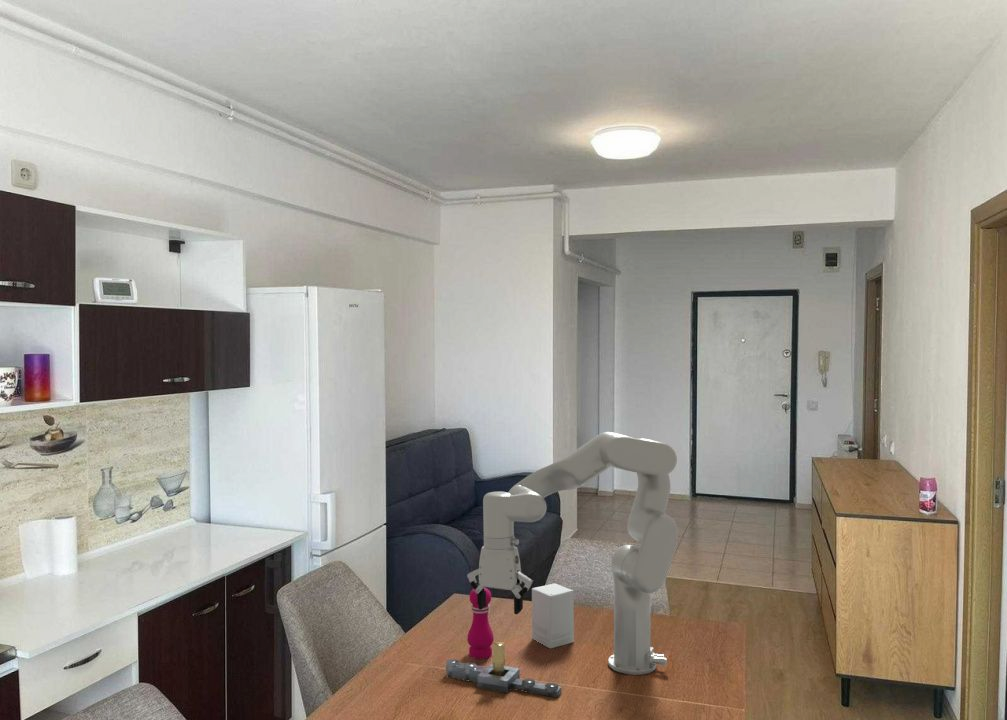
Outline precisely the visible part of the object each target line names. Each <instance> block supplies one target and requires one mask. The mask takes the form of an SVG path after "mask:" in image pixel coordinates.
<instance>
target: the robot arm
mask: <svg viewBox="0 0 1007 720" xmlns="http://www.w3.org/2000/svg"><path fill="white" fill-rule="evenodd" d="M677 459H678V458H677V454H676V452H675V450H674V448H673V447H671V446H670V445H669V444H667V443H664V442H661V441H656V440H654V439H648V438H636V437H631V436H629V435H624V434H621V433H617V432H612V431H611V432H610V431H605V432H604V431H603V432H601V433H599V434H597V435H595V437H593V438H591V439H590V440H589V441H587V442H585V443H584V444H583V445H581V446H580V447H578V448H577V449H576V450H574V451H573V452H571V453H569V454H568V455H566V456H565V457H564V458H562V459H560V460H558V461H555V462H553V463H551V464H549V465H546V466H544V467H542V468H539V469H538V470H536V471H534V472H532V473H531V474H528V475H527V476H526V477H524V478H523V479H521V480H520V481H518V482H517V483H516V484H514V485H513V486H512V487H511V488H510V489H509V491H508V492H506V491H491V492H487V493H486V494H484V496H483V500H482V505H483V506H482V510H483V512H482V514H483V545H482V547H481V549H480V555H479V561H478V562H479V563H478V564H479V565H478V568H477V569H475V570H473V571H470V572H469V573H467V576H466V577H467V579H468V581H469V583H470V586H471V587H472V589H475V592H476V593H477V604H478V605H479V609H480V610H481V609H483V608H484V607H485V606H486V591H485V590H484V588H487V589H495V590H497V589H498V590H505V591H508V590H509V591H511V592H512V593H513V595H514V596H515V597H514V598H513V613H514V615H519V614H520V613H521V612H522V610H523V608H524V606H523V605H524V602H523V601H524V600H523V599H524V598H523V597H524V595H525V594H526V593H528V591H529V590H530V588H531V586H532V584H533V581H534V580H533V579H531V578H530V577H528V576H527V575H525V574H524V573H523V572H522V568H521V566H522V565H521V560H520V559H521V558H520V553H519V550H518V547H517V546H518V545H519V544H520V540H519V539H517V538H516V537H515V533H514V532H515V531H514V530H515V528H514V526H515V525H514V524H515V523H514V522H520V523H521V522H522V523H535V522H538V521H540V520H541V519H542V518H543V517H544V516H545V515H546V512H547V507H548V506H547V502H546V500H545V498H546V497H548V496H550V495H552V494H554V493H558V492H562V491H570V490H571V491H572V490H576V489H579V488H582V487H584V486H585V485H587V484H588V483H589V482H591V481H592V480H593V479H595V478H596V477H598V476H599V475H600V474H603V472H605V471H607V470H608V469H609V468H611V467H612V468H615V469H619V470H622V471H627V472H633V473H636V475H637V488H636V490H637V491H636V494H635V497H634V499H633V503H632V508H631V510H630V513H629V516H628V521H627V523H626V524H627V525H626V530H627V532H628V535H629V536H630V537H631V538H632V539H633V540H634V541H636V542H639V544H640V546H637V545H634V544H624V545H621V546H620V547H619V546H618V548H617V549H616V550H615V551H614V553H613V554H612V557H611V563H610V569H611V575H612V582H613V585H612V586H613V654H611V655H610V656H609V657H608V658H607V663H608V666H609V668H610V669H612V670H613V671H616V672H618V673H621V674H625V675H632V676H633V675H634V676H636V675H647V674H650V673H652V672H654V671H655V670H656V669H657V665H659V666H664V667H666V666H667V665H668V664H667V663H668V659H667V657H665V655H664V654H661V653H660V654H658V653H656V652H654V647H653V646H651V622H652V621H651V618H652V617H651V607H652V606H651V605H652V604H651V603H652V601H651V600H652V599H651V593H655V592H657V591H659V590H660V589H661V588H662V587H663V585H664V584H665V582H666V580H667V577H668V575H669V571H670V568H671V566H672V562H673V559H674V556H675V552H676V549H677V546H678V545H677V544H678V541H679V529H678V525H677V523H676V521H675V519H673V518H672V517H671V516H670V515H668V514H666V512H667V511H666V510H667V508H668V503H669V500H670V499H669V498H670V495H671V494H670V493H671V480H670V475H669V474H671V473H672V472H673V471H674V469H676V466H677V461H678V460H677ZM516 545H517V546H516ZM476 576H478V580H477V579H476ZM522 582H523V583H524V586H523V588H522V587H521V586H520V585H521V584H522Z"/></svg>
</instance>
